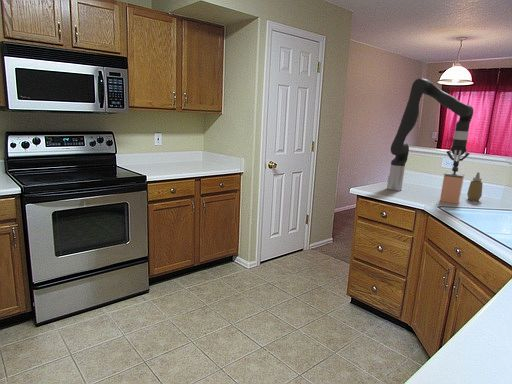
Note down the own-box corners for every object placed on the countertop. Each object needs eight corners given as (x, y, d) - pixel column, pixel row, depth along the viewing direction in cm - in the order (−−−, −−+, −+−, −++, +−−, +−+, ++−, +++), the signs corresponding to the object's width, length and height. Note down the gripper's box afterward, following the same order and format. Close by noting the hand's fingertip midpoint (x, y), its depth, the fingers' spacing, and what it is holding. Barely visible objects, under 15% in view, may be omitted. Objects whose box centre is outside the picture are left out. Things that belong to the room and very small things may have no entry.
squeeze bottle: (473, 201, 231) (478, 173, 227) (463, 198, 239) (468, 171, 235) (483, 201, 234) (489, 173, 230) (473, 198, 241) (478, 171, 237)
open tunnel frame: (439, 201, 228) (444, 175, 224) (442, 198, 236) (446, 173, 233) (457, 204, 223) (462, 178, 219) (459, 201, 231) (463, 176, 227)
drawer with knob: (439, 198, 228) (445, 167, 223) (442, 195, 236) (447, 165, 232) (458, 201, 222) (464, 169, 218) (460, 198, 231) (465, 167, 226)
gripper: (447, 138, 221) (442, 166, 225) (472, 140, 214) (467, 169, 218) (448, 137, 228) (444, 165, 231) (473, 139, 221) (468, 168, 224)
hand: (455, 167), depth 225 cm, fingers closed
